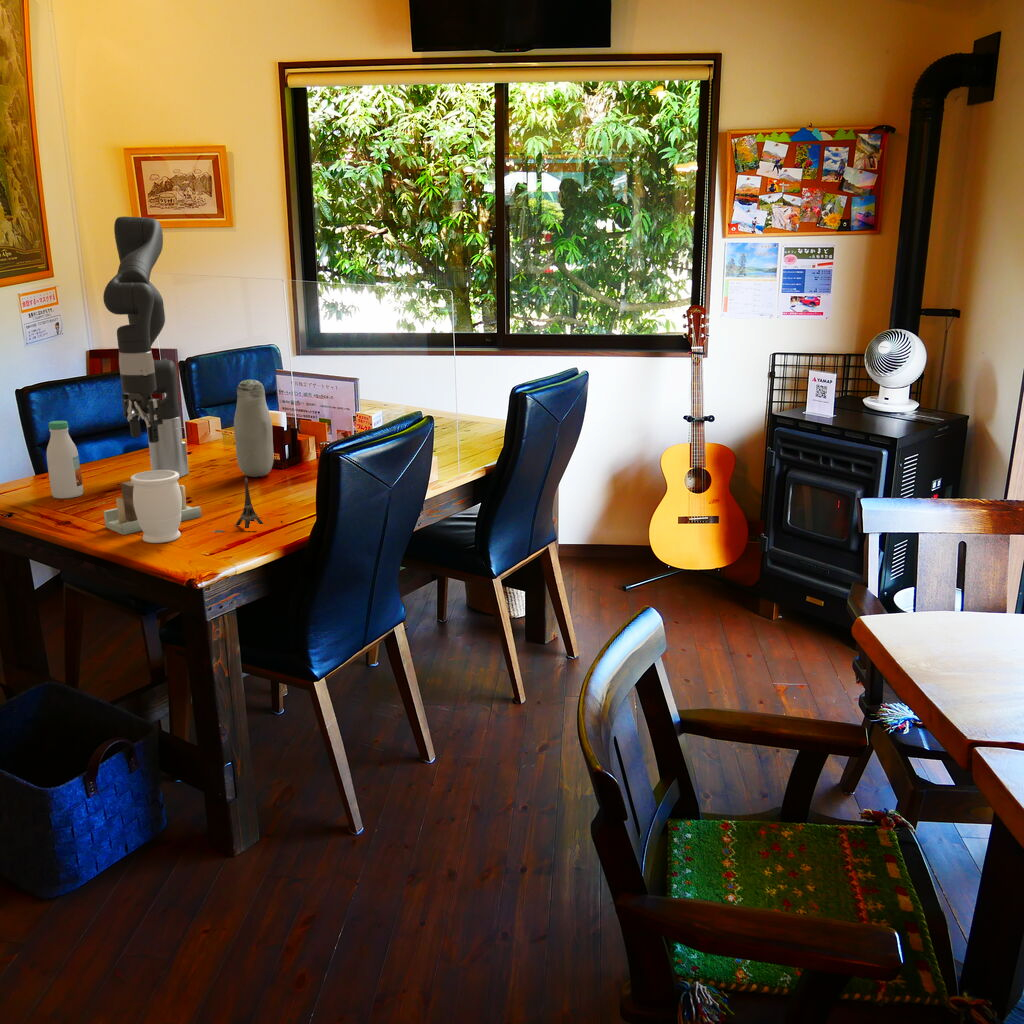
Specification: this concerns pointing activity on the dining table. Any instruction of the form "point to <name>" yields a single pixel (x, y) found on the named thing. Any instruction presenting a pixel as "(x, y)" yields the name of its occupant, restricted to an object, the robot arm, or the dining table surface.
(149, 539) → the jar
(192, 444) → the dining table surface
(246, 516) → the eiffel tower figurine
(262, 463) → the grey bottle
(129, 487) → the wooden block
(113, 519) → the ledge
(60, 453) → the milk bottle
